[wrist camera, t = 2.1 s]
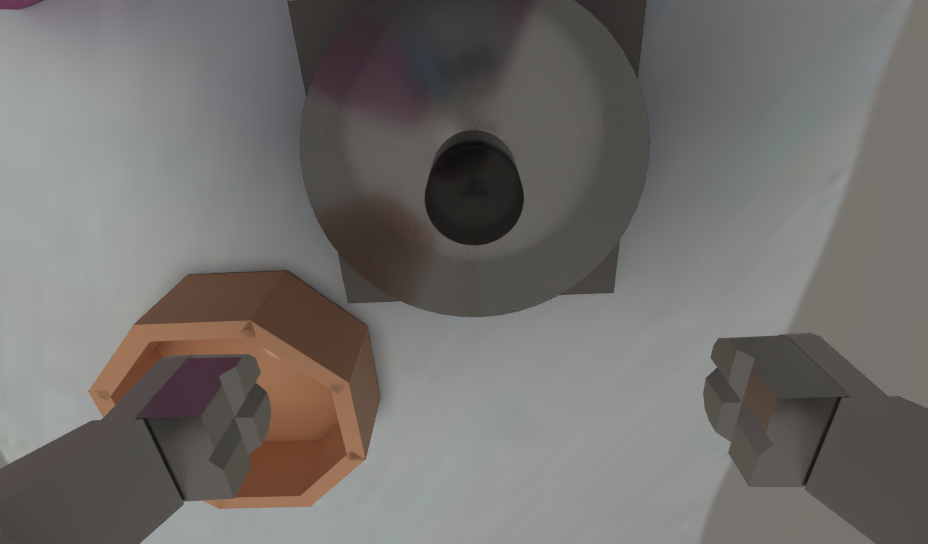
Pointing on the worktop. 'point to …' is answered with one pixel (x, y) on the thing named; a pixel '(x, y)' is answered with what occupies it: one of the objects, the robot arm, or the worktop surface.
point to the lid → (474, 150)
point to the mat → (338, 3)
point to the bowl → (268, 375)
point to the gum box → (16, 3)
